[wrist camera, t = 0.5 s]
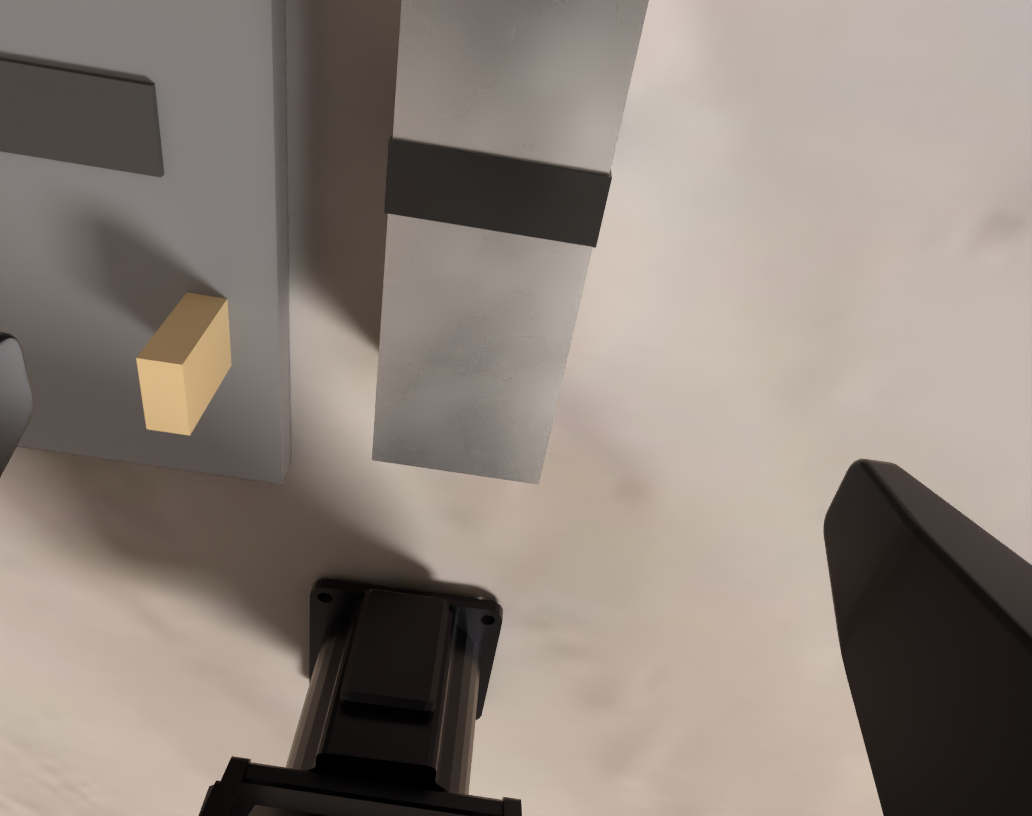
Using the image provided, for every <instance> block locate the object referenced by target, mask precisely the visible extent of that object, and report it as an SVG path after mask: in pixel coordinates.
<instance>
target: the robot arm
mask: <svg viewBox="0 0 1032 816" xmlns="http://www.w3.org/2000/svg"><path fill="white" fill-rule="evenodd" d="M32 411H33V396H32V392H31V387H30V383H29V378H28V374H27V370H26V365H25V361H24V356H23V352H22V348H21V345H20V343H19V341H18V340H17V338H16V337H14V336H13V335H11V334H10V333H5V332H0V477H1V475H2V473H3V471H4V469H5V467H6V466H7V464H8V462H9V460H10V458H11V456H12V454H13V452H14V450H15V448H16V447H17V445H18V443H19V441H20V439H21V437H22V435H23V433H24V431H25V429H26V428H27V426H28V424H29V421H30V419H31V416H32ZM824 540H825V547H826V554H827V561H828V568H829V575H830V582H831V589H832V596H833V603H834V610H835V617H836V624H837V631H838V637H839V643H840V649H841V654H842V658H843V663H844V667H845V671H846V675H847V679H848V683H849V687H850V690H851V694H852V698H853V702H854V705H855V709H856V713H857V717H858V720H859V724H860V728H861V732H862V736H863V739H864V743H865V747H866V751H867V754H868V758H869V762H870V766H871V770H872V773H873V777H874V781H875V785H876V788H877V792H878V796H879V800H880V803H881V807H882V811H883V815H884V816H1032V565H1031V564H1029V563H1028V562H1027V561H1025V560H1024V559H1023V558H1021V557H1020V556H1019V555H1017V554H1016V553H1015V552H1013V551H1012V550H1011V549H1009V548H1008V547H1007V546H1005V545H1004V544H1003V543H1001V542H1000V541H999V540H997V539H996V538H995V537H993V536H992V535H990V534H989V533H988V532H986V531H985V530H984V529H982V528H981V527H980V526H978V525H977V524H976V523H974V522H973V521H972V520H970V519H969V518H968V517H966V516H965V515H964V514H962V513H961V512H960V511H958V510H957V509H956V508H954V507H953V506H952V505H950V504H949V503H947V502H946V501H945V500H943V499H942V498H941V497H939V496H938V495H937V494H935V493H934V492H933V491H931V490H930V489H929V488H927V487H926V486H925V485H923V484H922V483H921V482H919V481H918V480H917V479H915V478H914V477H913V476H911V475H910V474H909V473H907V472H906V471H905V470H903V469H902V468H900V467H899V466H898V465H896V464H893V463H889V462H882V461H875V460H868V459H859V460H857V461H855V462H853V464H852V465H851V466H850V467H849V469H848V470H847V472H846V474H845V476H844V478H843V480H842V483H841V485H840V487H839V489H838V491H837V493H836V495H835V497H834V499H833V501H832V503H831V505H830V507H829V509H828V511H827V513H826V517H825V520H824ZM327 593H328V594H327ZM502 617H503V609H502V607H501V606H500V605H499V604H497V603H496V602H492V601H487V600H479V599H472V598H465V597H458V596H450V595H443V594H436V593H429V592H421V591H414V590H407V589H400V588H392V587H385V586H378V585H371V584H363V583H356V582H349V581H342V580H334V579H319V580H317V581H316V582H315V583H314V585H313V588H312V591H311V594H310V685H309V688H308V692H307V695H306V699H305V702H304V706H303V709H302V713H301V716H300V720H299V723H298V726H297V730H296V733H295V737H294V740H293V744H292V747H291V751H290V754H289V758H288V761H287V765H286V768H285V767H278V766H271V765H265V764H258V763H251V759H247V758H240V757H233V756H232V757H231V759H230V761H229V764H228V766H227V768H226V770H225V773H224V775H223V777H222V779H221V781H216V782H215V784H214V785H212V786H209V789H208V791H207V794H206V797H205V800H204V802H203V805H202V808H201V811H200V813H199V816H522V809H521V800H520V799H514V798H508V797H503V799H502V800H499V799H493V798H486V797H479V796H472V795H468V793H469V783H470V772H471V762H472V751H473V740H474V730H475V720H477V719H479V718H480V717H481V715H482V710H483V706H484V701H485V697H486V692H487V688H488V683H489V679H490V674H491V670H492V665H493V661H494V656H495V652H496V647H497V643H498V638H499V634H500V629H501V625H502Z"/></svg>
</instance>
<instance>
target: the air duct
mask: <svg viewBox="0 0 1032 816" xmlns="http://www.w3.org/2000/svg"><path fill="white" fill-rule="evenodd" d="M648 2H649V0H402V1H401V16H400V32H399V47H398V63H397V78H396V94H395V109H394V125H393V134H392V136H391V138H390V139H389V147H388V163H387V180H386V196H385V212H384V213H387V214H388V218H387V234H386V249H385V265H384V281H383V296H382V312H381V327H380V343H379V358H378V374H377V389H376V405H375V421H374V436H373V452H372V460H375V461H382V462H389V463H396V464H403V465H410V466H416V467H423V468H430V469H437V470H444V471H450V472H457V473H464V474H471V475H478V476H484V477H491V478H498V479H505V480H512V481H518V482H525V483H532V484H539V480H540V476H541V471H542V467H543V462H544V458H545V454H546V449H547V445H548V440H549V436H550V432H551V427H552V423H553V418H554V414H555V410H556V405H557V401H558V397H559V392H560V388H561V383H562V379H563V375H564V370H565V366H566V361H567V357H568V353H569V348H570V344H571V339H572V335H573V331H574V326H575V322H576V318H577V313H578V309H579V304H580V300H581V296H582V291H583V287H584V282H585V278H586V274H587V269H588V265H589V260H590V256H591V252H592V247H596V244H597V240H598V236H599V231H600V227H601V223H602V218H603V214H604V210H605V205H606V201H607V197H608V192H609V188H610V183H611V179H612V176H611V164H612V160H613V155H614V151H615V146H616V142H617V138H618V133H619V129H620V124H621V120H622V116H623V111H624V107H625V102H626V98H627V94H628V89H629V85H630V81H631V76H632V72H633V67H634V63H635V59H636V54H637V50H638V45H639V41H640V37H641V32H642V28H643V23H644V19H645V15H646V10H647V6H648Z"/></svg>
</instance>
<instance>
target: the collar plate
mask: <svg viewBox="0 0 1032 816" xmlns="http://www.w3.org/2000/svg"><path fill="white" fill-rule="evenodd" d="M0 332H5V333H10V334H11V335H13V336H14V337H16V338H17V340H18V341H19V343H20V345H21V348H22V352H23V356H24V361H25V365H26V370H27V374H28V378H29V383H30V387H31V392H32V396H33V411H32V416H31V419H30V421H29V424H28V426H27V428H26V429H25V431H24V433H23V435H22V437H21V439H20V441H19V443H18V445H17V446H18V447H25V448H32V449H39V450H46V451H53V452H60V453H67V454H74V455H81V456H87V457H94V458H101V459H108V460H115V461H122V462H129V463H136V464H143V465H150V466H157V467H164V468H171V469H178V470H185V471H192V472H199V473H206V474H213V475H220V476H227V477H234V478H241V479H247V480H254V481H261V482H268V483H275V484H282V483H283V480H284V478H285V475H286V473H287V471H288V468H289V466H290V463H291V432H290V354H289V275H288V196H287V117H286V39H285V0H0Z"/></svg>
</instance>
